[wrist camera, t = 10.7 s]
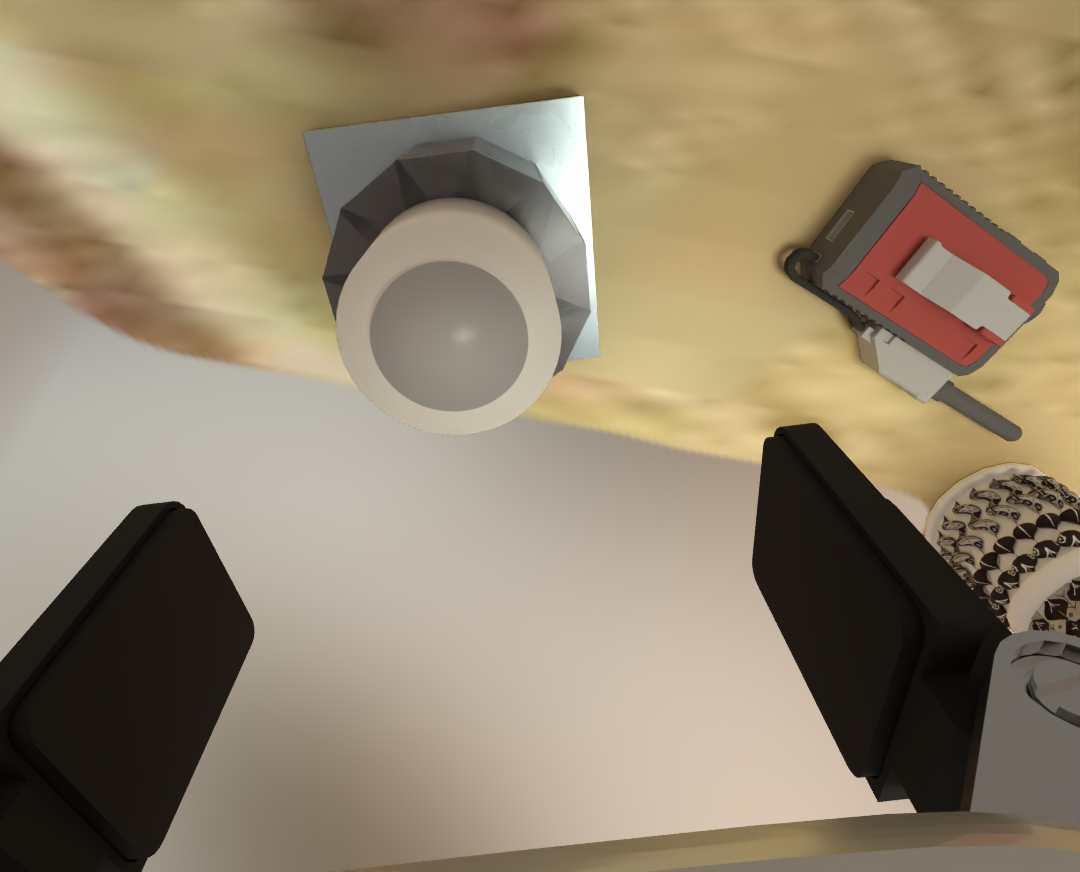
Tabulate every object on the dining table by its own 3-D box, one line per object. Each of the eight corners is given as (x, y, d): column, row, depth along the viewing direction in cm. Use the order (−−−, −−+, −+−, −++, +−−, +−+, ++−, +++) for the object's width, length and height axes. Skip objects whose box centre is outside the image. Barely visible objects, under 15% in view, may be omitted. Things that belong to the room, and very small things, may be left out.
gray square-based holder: (579, 95, 26) (605, 100, 20) (595, 346, 33) (620, 411, 26) (311, 129, 26) (251, 145, 20) (378, 373, 33) (349, 445, 26)
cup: (535, 174, 24) (550, 210, 17) (553, 341, 27) (571, 425, 21) (357, 196, 24) (302, 242, 17) (399, 361, 28) (367, 451, 21)
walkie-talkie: (746, 294, 32) (987, 438, 38) (780, 322, 28) (1041, 478, 34) (862, 134, 28) (1108, 322, 34) (919, 142, 25) (1185, 351, 30)
